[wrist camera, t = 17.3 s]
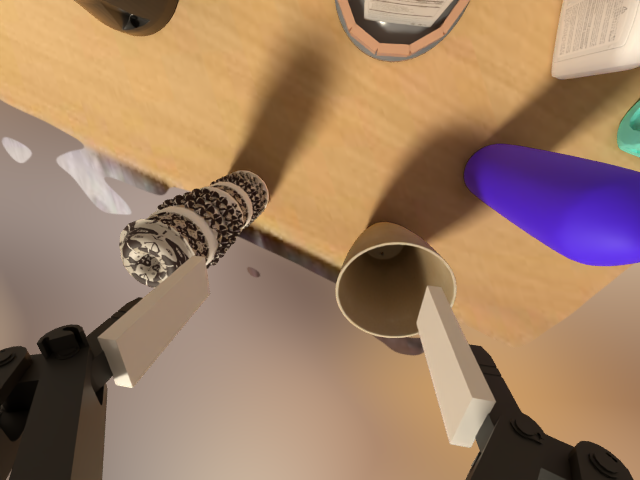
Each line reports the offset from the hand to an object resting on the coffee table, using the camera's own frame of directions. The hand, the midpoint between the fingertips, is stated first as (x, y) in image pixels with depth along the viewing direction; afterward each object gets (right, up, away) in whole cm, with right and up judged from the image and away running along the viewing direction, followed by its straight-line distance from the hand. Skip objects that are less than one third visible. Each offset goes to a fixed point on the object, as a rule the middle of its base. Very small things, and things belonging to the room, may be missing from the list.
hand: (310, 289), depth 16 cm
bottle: (+27, +14, +25) cm, 39 cm away
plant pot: (+12, +3, +33) cm, 35 cm away
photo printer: (+32, +29, +17) cm, 46 cm away
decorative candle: (-13, +11, +32) cm, 36 cm away
